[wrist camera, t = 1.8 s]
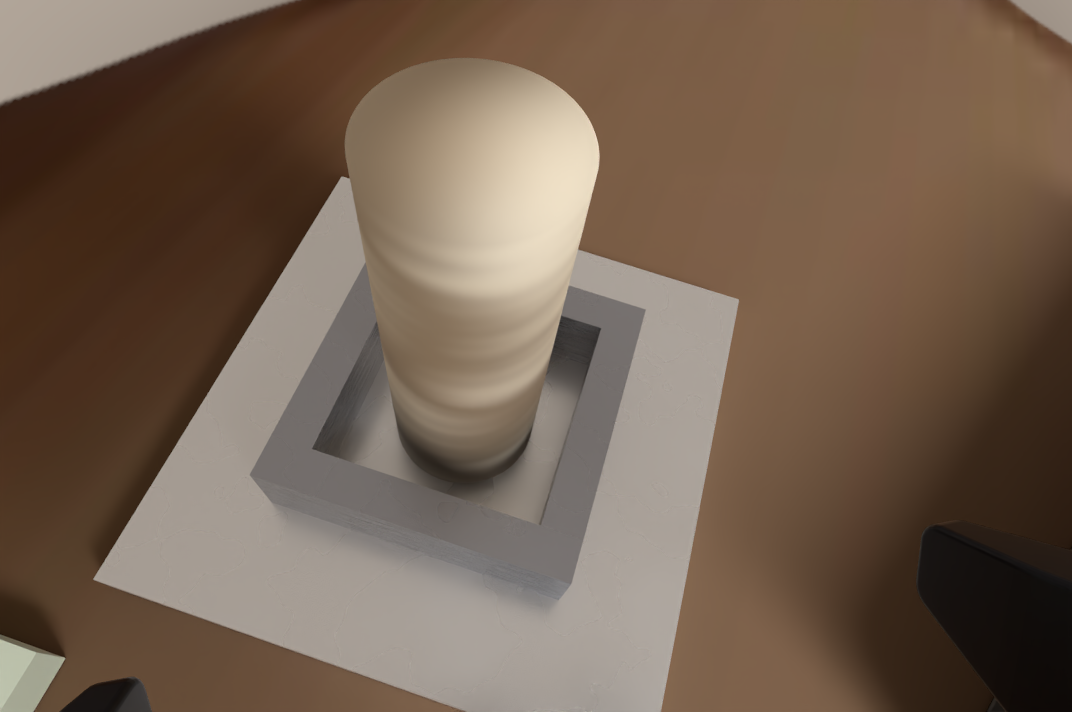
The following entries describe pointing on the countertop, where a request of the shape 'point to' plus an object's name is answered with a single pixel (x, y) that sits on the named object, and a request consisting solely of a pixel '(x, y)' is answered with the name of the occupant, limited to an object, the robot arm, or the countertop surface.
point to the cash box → (996, 704)
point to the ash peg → (469, 249)
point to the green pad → (24, 674)
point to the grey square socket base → (445, 496)
